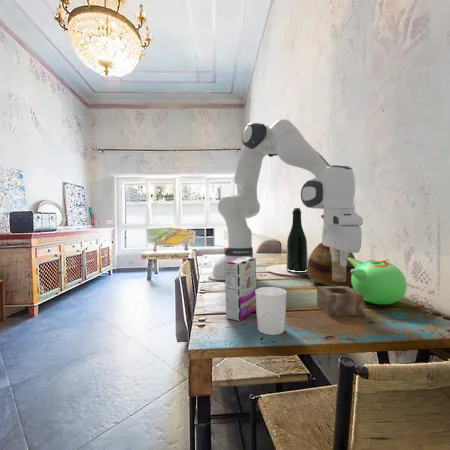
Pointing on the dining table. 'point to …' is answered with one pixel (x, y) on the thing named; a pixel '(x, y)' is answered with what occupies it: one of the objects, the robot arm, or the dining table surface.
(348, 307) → the socket block
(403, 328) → the dining table surface
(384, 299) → the green rounded body
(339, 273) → the beech dowel
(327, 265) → the brown clay vase
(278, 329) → the white cup
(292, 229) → the dark wine bottle
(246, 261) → the candy bar box
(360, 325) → the dining table surface
